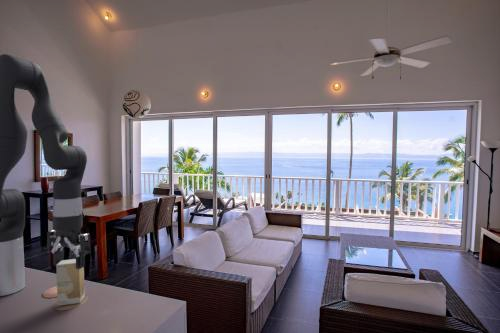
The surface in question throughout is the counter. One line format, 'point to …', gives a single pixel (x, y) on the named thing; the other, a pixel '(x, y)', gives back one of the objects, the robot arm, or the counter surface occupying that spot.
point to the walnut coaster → (69, 305)
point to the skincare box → (69, 282)
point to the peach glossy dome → (50, 292)
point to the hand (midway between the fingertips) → (68, 266)
